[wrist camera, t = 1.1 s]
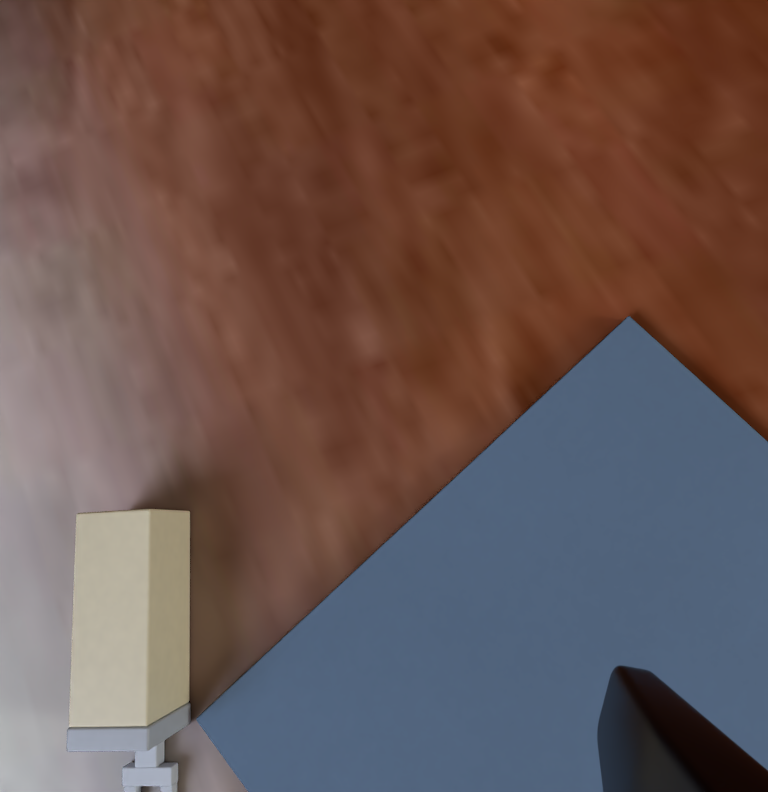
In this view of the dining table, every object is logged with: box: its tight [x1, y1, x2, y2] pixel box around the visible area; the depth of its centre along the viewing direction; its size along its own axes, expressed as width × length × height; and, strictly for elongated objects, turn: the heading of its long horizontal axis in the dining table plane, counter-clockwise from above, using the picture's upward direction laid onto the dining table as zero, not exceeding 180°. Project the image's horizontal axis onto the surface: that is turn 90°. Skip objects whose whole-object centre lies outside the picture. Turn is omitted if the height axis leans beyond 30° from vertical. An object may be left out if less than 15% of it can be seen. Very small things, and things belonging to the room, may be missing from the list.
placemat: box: [196, 316, 768, 792], centre depth 21 cm, size 20×16×1 cm
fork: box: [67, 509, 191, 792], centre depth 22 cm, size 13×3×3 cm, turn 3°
